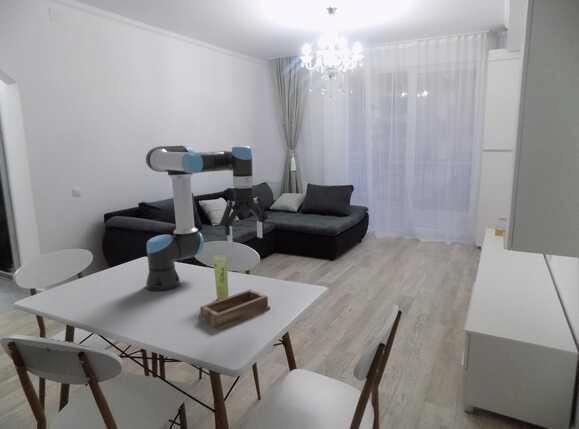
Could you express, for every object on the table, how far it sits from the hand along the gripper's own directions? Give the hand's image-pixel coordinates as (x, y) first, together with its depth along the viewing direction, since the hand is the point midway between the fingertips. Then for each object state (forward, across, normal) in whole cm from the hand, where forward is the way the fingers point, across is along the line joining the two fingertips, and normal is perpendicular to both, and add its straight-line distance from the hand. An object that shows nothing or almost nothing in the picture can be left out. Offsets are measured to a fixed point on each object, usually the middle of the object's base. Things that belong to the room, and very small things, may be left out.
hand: (245, 240), depth 155 cm
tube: (+28, -5, +13) cm, 31 cm away
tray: (+28, -8, -3) cm, 29 cm away
